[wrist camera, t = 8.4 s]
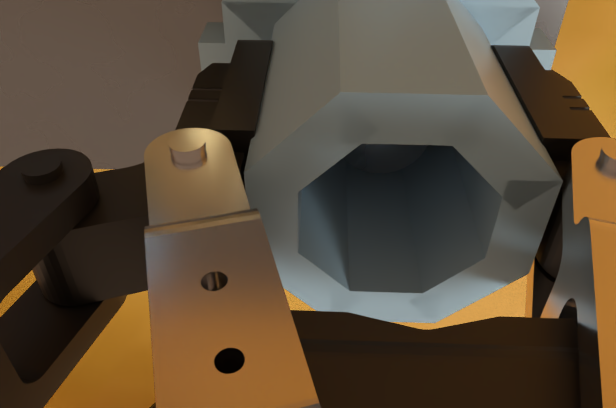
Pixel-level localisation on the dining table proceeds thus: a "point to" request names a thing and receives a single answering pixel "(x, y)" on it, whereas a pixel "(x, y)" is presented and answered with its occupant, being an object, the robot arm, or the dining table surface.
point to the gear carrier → (125, 77)
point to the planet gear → (393, 130)
